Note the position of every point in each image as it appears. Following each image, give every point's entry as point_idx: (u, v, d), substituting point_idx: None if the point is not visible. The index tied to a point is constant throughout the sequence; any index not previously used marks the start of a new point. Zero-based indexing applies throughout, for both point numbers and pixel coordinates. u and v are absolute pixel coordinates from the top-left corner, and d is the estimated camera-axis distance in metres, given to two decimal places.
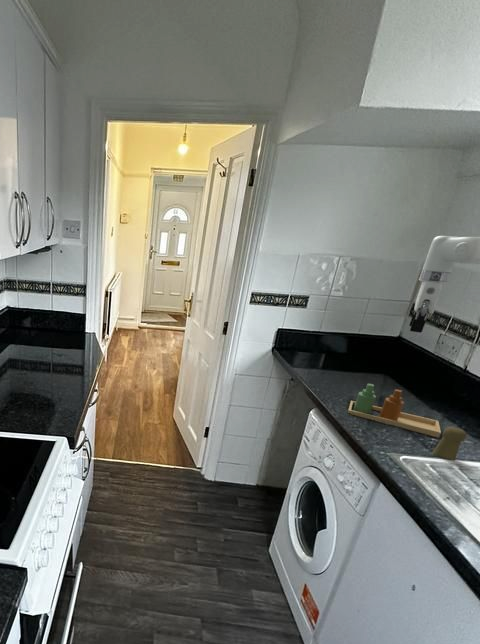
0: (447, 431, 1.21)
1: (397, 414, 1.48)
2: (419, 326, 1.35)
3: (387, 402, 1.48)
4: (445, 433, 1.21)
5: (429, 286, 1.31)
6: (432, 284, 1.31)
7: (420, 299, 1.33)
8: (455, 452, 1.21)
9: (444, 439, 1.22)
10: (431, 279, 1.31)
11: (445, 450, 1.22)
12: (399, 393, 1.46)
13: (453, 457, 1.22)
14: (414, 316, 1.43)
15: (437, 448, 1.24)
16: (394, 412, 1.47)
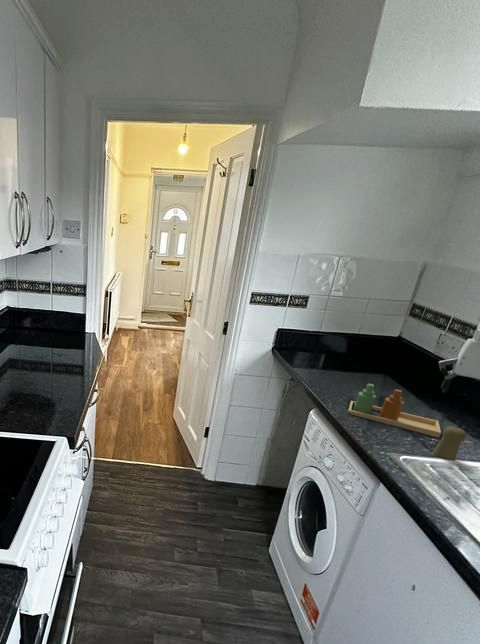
0: (447, 431, 1.21)
1: (397, 414, 1.48)
2: None
3: (387, 402, 1.48)
4: (445, 433, 1.21)
5: None
6: None
7: None
8: (455, 452, 1.21)
9: (444, 439, 1.22)
10: None
11: (445, 450, 1.22)
12: (399, 393, 1.46)
13: (453, 457, 1.22)
14: (451, 381, 1.18)
15: (437, 448, 1.24)
16: (394, 412, 1.47)
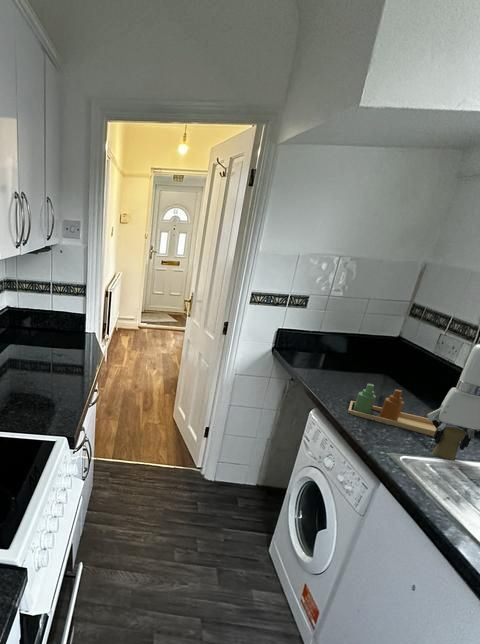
0: (446, 431, 1.21)
1: (397, 414, 1.48)
2: None
3: (387, 402, 1.48)
4: (444, 433, 1.21)
5: None
6: None
7: None
8: (455, 452, 1.21)
9: (443, 439, 1.22)
10: None
11: (444, 450, 1.22)
12: (399, 393, 1.46)
13: (453, 457, 1.22)
14: (442, 433, 1.22)
15: (437, 448, 1.24)
16: (394, 412, 1.47)
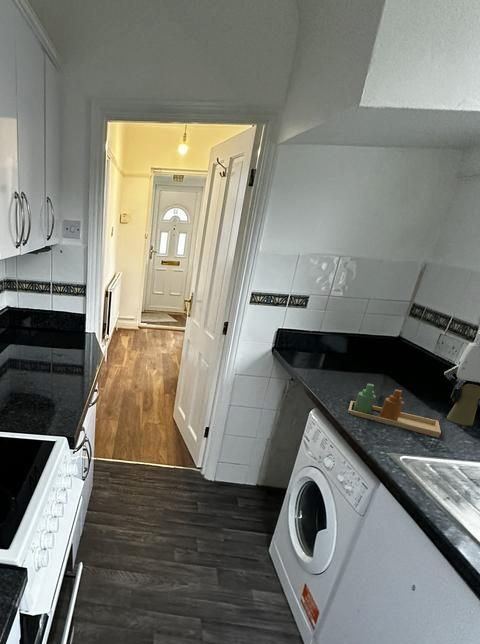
0: (464, 388, 1.16)
1: (397, 414, 1.48)
2: None
3: (387, 402, 1.48)
4: (463, 391, 1.17)
5: None
6: None
7: None
8: (474, 410, 1.17)
9: (462, 397, 1.18)
10: None
11: (463, 408, 1.17)
12: (399, 393, 1.46)
13: (472, 415, 1.17)
14: (460, 391, 1.17)
15: (455, 407, 1.19)
16: (394, 412, 1.47)
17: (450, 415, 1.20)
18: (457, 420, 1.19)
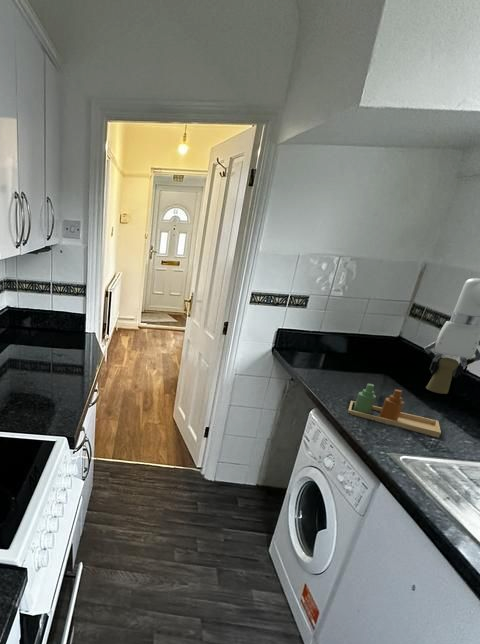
0: (441, 361, 1.34)
1: (397, 414, 1.48)
2: None
3: (387, 402, 1.48)
4: (440, 363, 1.34)
5: None
6: None
7: (477, 345, 1.27)
8: (449, 380, 1.34)
9: (439, 369, 1.35)
10: None
11: (440, 379, 1.35)
12: (399, 393, 1.46)
13: (447, 385, 1.34)
14: None
15: (433, 378, 1.37)
16: (394, 412, 1.47)
17: (429, 385, 1.38)
18: (434, 389, 1.36)
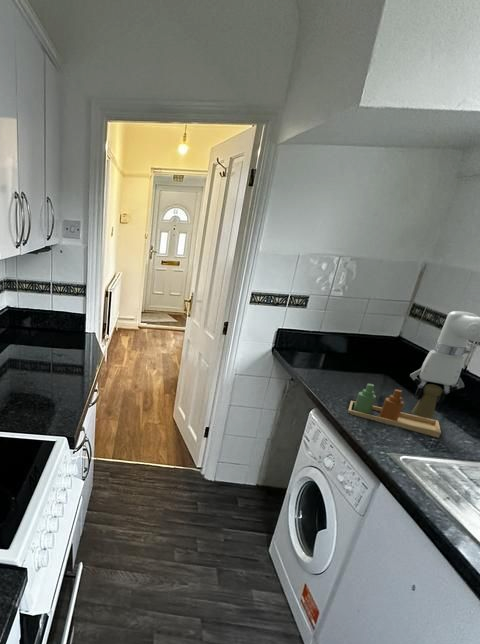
0: (426, 388, 1.41)
1: (397, 414, 1.48)
2: None
3: (387, 402, 1.48)
4: (424, 390, 1.41)
5: (463, 360, 1.34)
6: None
7: (459, 374, 1.35)
8: (433, 405, 1.41)
9: (424, 395, 1.42)
10: None
11: (425, 404, 1.42)
12: (399, 393, 1.46)
13: (432, 410, 1.42)
14: None
15: (418, 403, 1.44)
16: (394, 412, 1.47)
17: (414, 410, 1.45)
18: (419, 414, 1.43)
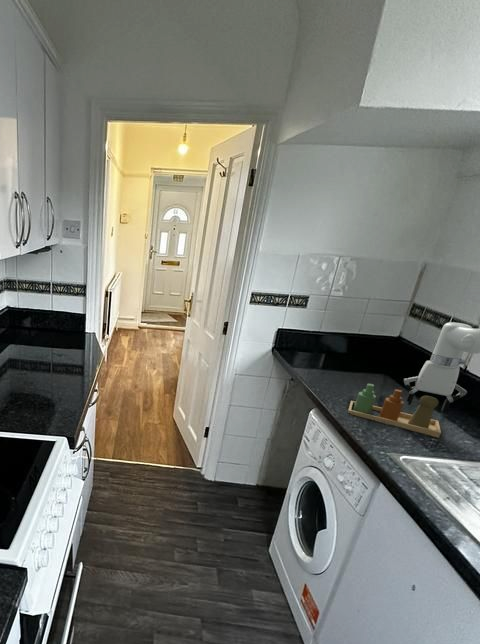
0: (422, 399, 1.42)
1: (397, 414, 1.48)
2: None
3: (387, 402, 1.48)
4: (421, 401, 1.43)
5: None
6: None
7: (455, 384, 1.36)
8: (429, 417, 1.43)
9: (420, 406, 1.44)
10: None
11: (421, 415, 1.43)
12: (399, 393, 1.46)
13: (428, 421, 1.43)
14: (413, 395, 1.44)
15: (414, 414, 1.45)
16: (394, 412, 1.47)
17: (410, 420, 1.47)
18: (415, 425, 1.45)
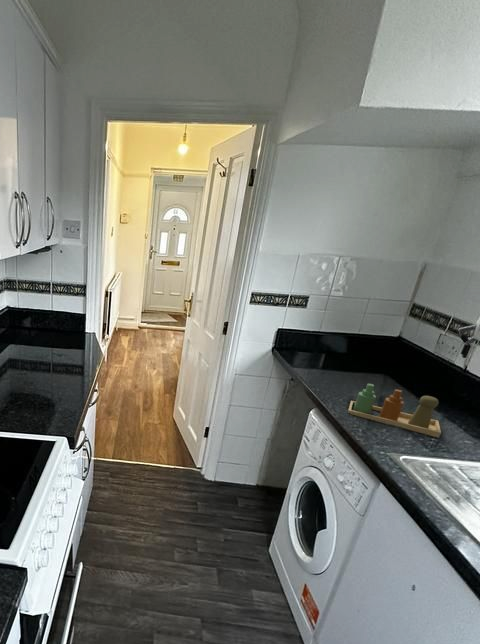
0: (422, 399, 1.42)
1: (397, 414, 1.48)
2: None
3: (387, 402, 1.48)
4: (421, 401, 1.43)
5: None
6: None
7: None
8: (429, 417, 1.43)
9: (420, 406, 1.44)
10: None
11: (421, 415, 1.43)
12: (399, 393, 1.46)
13: (428, 421, 1.43)
14: None
15: (414, 414, 1.45)
16: (394, 412, 1.47)
17: (410, 420, 1.47)
18: (415, 425, 1.45)
